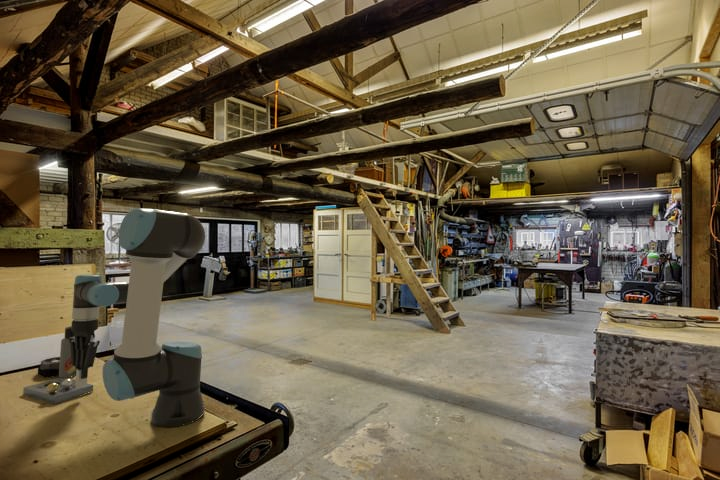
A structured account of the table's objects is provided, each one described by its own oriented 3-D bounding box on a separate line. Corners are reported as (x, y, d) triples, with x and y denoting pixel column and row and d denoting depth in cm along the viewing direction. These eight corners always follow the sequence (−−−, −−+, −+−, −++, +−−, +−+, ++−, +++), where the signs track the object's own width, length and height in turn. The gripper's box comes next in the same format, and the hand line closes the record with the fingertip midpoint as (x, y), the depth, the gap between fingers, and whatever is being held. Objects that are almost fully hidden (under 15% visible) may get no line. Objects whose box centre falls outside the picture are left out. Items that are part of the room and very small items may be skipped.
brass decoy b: (60, 391, 124) (61, 382, 124) (49, 395, 121) (50, 385, 121) (54, 390, 125) (55, 380, 125) (43, 393, 122) (44, 383, 122)
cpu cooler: (65, 354, 156) (76, 358, 150) (65, 367, 155) (75, 372, 150) (35, 360, 147) (45, 365, 142) (34, 374, 146) (44, 379, 141)
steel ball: (74, 387, 128) (75, 378, 128) (64, 390, 125) (65, 381, 125) (69, 386, 129) (69, 377, 129) (59, 389, 126) (59, 379, 126)
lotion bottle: (79, 375, 146) (82, 326, 147) (61, 379, 141) (65, 328, 142) (73, 372, 149) (76, 324, 150) (56, 376, 144) (59, 326, 145)
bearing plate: (92, 391, 131) (93, 384, 131) (54, 404, 120) (55, 396, 120) (61, 383, 137) (62, 377, 137) (23, 394, 126) (23, 387, 126)
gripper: (109, 319, 126) (104, 387, 125) (85, 315, 131) (80, 380, 130) (86, 322, 119) (81, 394, 118) (61, 318, 124) (56, 387, 123)
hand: (80, 387), depth 124 cm, fingers closed
